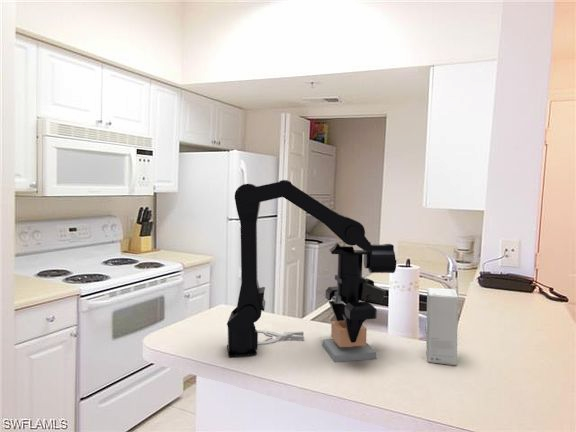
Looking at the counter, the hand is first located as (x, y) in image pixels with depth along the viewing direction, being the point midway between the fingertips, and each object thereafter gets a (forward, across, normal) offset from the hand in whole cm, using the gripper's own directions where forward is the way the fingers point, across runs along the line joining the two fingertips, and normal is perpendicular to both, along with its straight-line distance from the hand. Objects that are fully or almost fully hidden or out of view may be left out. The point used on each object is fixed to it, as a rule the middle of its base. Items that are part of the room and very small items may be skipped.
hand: (348, 337), depth 100 cm
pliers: (+4, +12, +16) cm, 20 cm away
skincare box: (+4, -7, -20) cm, 22 cm away
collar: (+1, 0, 0) cm, 1 cm away
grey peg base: (+4, 0, 0) cm, 4 cm away
